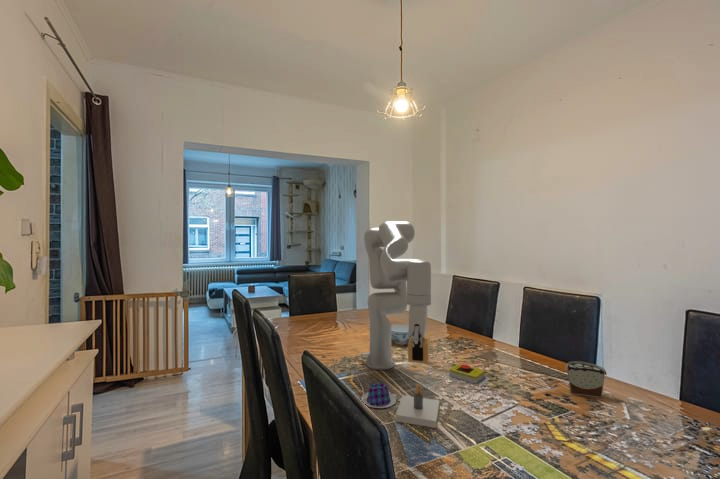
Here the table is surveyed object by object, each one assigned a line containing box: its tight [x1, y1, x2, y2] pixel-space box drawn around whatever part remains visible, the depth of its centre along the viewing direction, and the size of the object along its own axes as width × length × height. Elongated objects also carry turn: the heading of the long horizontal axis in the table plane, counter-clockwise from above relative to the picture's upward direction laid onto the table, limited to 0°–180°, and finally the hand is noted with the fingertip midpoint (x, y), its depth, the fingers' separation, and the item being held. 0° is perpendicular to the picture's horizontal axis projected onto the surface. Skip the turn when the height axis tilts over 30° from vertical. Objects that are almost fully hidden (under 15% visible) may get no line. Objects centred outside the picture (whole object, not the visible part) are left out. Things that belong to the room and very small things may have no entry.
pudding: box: [360, 382, 397, 409], centre depth 112 cm, size 12×12×5 cm
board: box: [395, 383, 440, 429], centre depth 103 cm, size 12×13×9 cm
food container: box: [565, 360, 608, 399], centre depth 118 cm, size 12×6×10 cm, turn 71°
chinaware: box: [391, 324, 413, 345], centre depth 175 cm, size 15×15×8 cm
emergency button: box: [445, 363, 491, 386], centre depth 131 cm, size 9×4×15 cm
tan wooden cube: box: [407, 337, 431, 365], centre depth 104 cm, size 6×6×6 cm
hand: (418, 356), depth 104 cm, fingers closed on tan wooden cube, 5 cm apart
